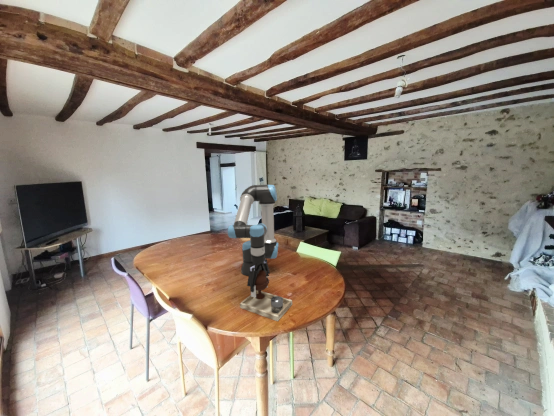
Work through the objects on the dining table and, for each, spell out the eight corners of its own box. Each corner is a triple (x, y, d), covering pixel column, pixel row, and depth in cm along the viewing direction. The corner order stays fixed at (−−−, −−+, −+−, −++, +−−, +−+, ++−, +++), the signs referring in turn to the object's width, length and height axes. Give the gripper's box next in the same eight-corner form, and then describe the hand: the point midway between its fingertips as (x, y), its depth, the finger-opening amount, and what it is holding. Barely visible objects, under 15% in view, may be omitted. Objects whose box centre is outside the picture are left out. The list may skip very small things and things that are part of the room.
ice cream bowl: (250, 292, 130) (249, 267, 128) (270, 291, 131) (269, 266, 128) (249, 302, 120) (247, 276, 117) (270, 301, 120) (269, 275, 118)
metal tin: (269, 311, 119) (268, 300, 118) (275, 304, 125) (274, 294, 124) (279, 314, 116) (279, 304, 115) (285, 308, 122) (285, 298, 121)
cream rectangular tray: (240, 309, 123) (239, 303, 123) (257, 295, 137) (256, 289, 136) (277, 323, 111) (277, 316, 111) (292, 306, 125) (292, 300, 124)
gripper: (250, 262, 109) (252, 304, 113) (275, 248, 129) (276, 283, 133) (238, 260, 113) (240, 300, 117) (264, 246, 133) (265, 281, 136)
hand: (259, 291), depth 125 cm, fingers closed on ice cream bowl, 11 cm apart
